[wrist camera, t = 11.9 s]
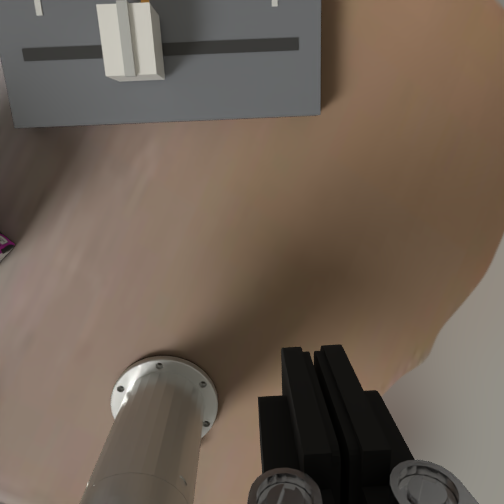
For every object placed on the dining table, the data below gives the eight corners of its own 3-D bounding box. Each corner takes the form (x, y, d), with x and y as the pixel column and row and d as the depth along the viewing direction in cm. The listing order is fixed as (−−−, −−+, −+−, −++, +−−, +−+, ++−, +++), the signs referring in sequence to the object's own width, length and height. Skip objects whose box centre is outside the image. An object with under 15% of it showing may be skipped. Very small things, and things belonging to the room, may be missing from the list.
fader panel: (314, 115, 41) (320, 114, 38) (30, 128, 41) (13, 128, 38) (314, -24, 38) (321, -36, 35) (4, -12, 37) (-17, -24, 34)
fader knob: (165, 80, 36) (155, 74, 32) (119, 82, 36) (104, 76, 32) (158, 14, 35) (148, -1, 31) (111, 16, 35) (93, 1, 31)
